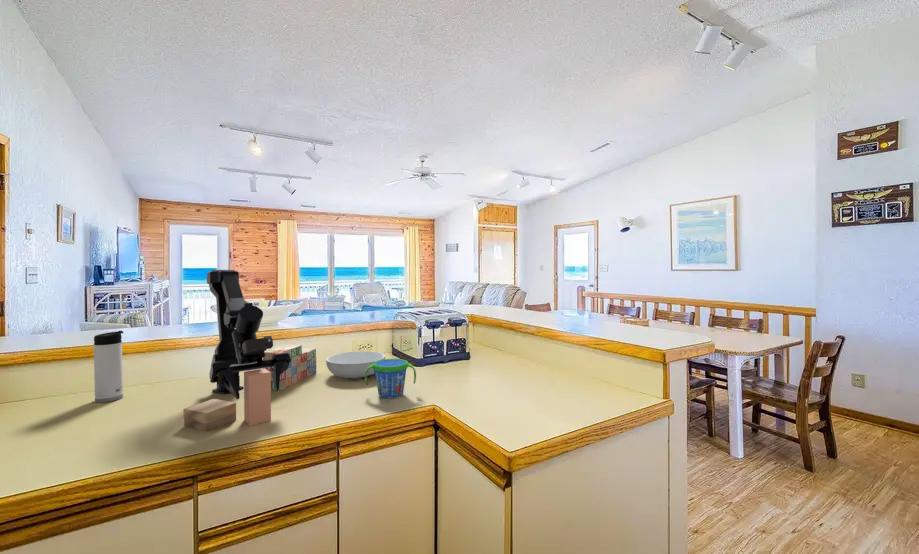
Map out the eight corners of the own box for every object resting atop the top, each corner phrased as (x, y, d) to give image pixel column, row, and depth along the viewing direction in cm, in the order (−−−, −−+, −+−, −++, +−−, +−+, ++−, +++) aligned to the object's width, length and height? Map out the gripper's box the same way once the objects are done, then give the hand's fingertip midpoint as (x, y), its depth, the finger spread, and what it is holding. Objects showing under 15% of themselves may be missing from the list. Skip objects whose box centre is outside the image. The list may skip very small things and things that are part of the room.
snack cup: (361, 400, 118) (360, 366, 118) (369, 389, 128) (369, 358, 128) (413, 401, 118) (413, 366, 117) (417, 390, 128) (418, 358, 128)
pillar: (244, 419, 103) (243, 371, 102) (265, 415, 106) (264, 368, 106) (249, 425, 99) (249, 375, 99) (271, 420, 102) (270, 372, 102)
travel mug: (125, 398, 119) (124, 331, 118) (96, 404, 114) (94, 334, 113) (122, 394, 123) (121, 329, 123) (93, 399, 118) (92, 332, 118)
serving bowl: (367, 365, 160) (367, 348, 160) (396, 376, 145) (396, 357, 145) (316, 374, 146) (316, 356, 146) (342, 387, 131) (342, 366, 131)
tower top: (183, 418, 98) (183, 408, 98) (213, 408, 106) (213, 398, 105) (207, 423, 95) (206, 413, 95) (236, 412, 103) (236, 402, 103)
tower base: (184, 428, 99) (184, 418, 98) (215, 417, 106) (214, 407, 106) (206, 433, 95) (205, 423, 95) (236, 421, 103) (236, 412, 103)
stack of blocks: (301, 372, 150) (301, 339, 149) (316, 373, 148) (316, 340, 148) (262, 389, 129) (262, 351, 128) (279, 390, 127) (279, 352, 127)
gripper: (211, 330, 99) (221, 384, 91) (288, 323, 111) (303, 370, 103) (205, 356, 105) (214, 409, 97) (279, 347, 117) (293, 393, 109)
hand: (258, 394), depth 102 cm, fingers open, 9 cm apart
